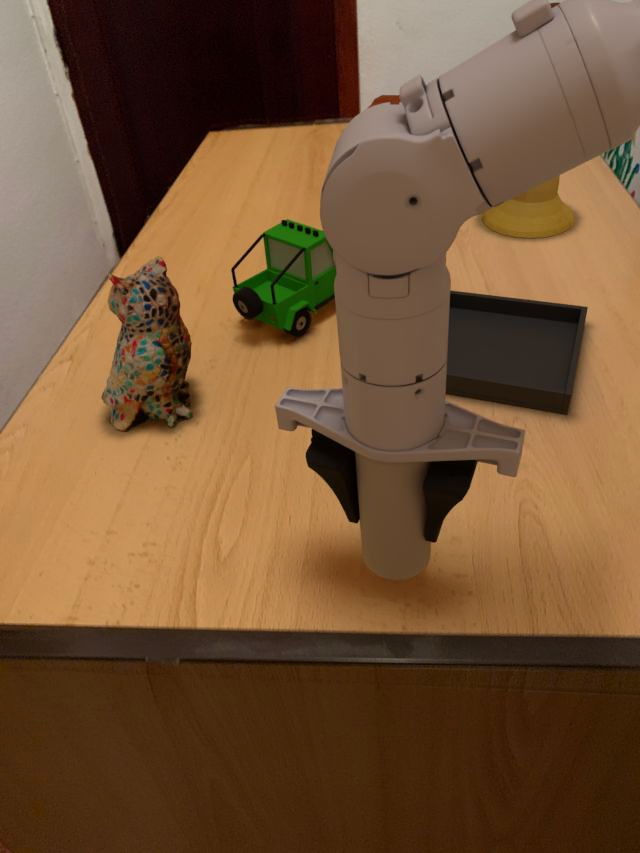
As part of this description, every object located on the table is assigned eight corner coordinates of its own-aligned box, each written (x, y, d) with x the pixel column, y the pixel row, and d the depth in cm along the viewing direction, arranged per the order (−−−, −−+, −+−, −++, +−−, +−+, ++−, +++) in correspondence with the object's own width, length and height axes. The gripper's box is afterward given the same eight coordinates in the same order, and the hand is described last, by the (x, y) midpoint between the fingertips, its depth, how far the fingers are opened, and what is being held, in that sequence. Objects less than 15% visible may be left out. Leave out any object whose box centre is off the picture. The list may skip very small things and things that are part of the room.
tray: (583, 325, 69) (588, 306, 68) (567, 414, 59) (571, 394, 58) (442, 307, 74) (443, 289, 73) (404, 386, 64) (404, 367, 63)
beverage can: (355, 577, 46) (344, 452, 38) (371, 525, 49) (364, 400, 41) (424, 591, 44) (427, 464, 36) (436, 536, 48) (441, 409, 40)
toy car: (377, 290, 78) (375, 209, 72) (274, 357, 70) (260, 272, 63) (326, 271, 83) (319, 193, 77) (223, 331, 74) (205, 250, 68)
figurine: (136, 375, 69) (92, 243, 59) (216, 381, 67) (184, 245, 57) (99, 429, 63) (43, 290, 53) (185, 437, 61) (144, 295, 51)
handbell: (592, 230, 86) (636, 5, 69) (500, 243, 85) (524, 20, 68) (552, 194, 95) (583, -11, 79) (469, 206, 94) (483, 2, 78)
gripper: (544, 332, 35) (516, 502, 44) (298, 300, 40) (318, 459, 49) (523, 414, 31) (497, 586, 39) (247, 366, 35) (279, 529, 44)
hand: (395, 521), depth 44 cm, fingers closed on beverage can, 5 cm apart
